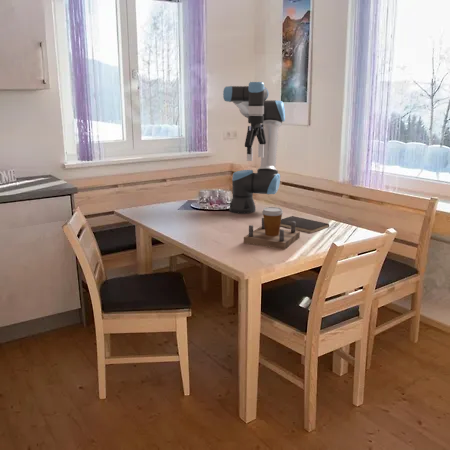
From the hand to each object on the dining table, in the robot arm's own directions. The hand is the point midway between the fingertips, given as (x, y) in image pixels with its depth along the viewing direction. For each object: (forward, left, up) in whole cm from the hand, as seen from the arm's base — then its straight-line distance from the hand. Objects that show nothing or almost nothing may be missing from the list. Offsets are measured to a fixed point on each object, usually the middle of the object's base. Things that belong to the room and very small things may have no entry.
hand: (255, 159), depth 245 cm
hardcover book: (-13, +21, -36) cm, 43 cm away
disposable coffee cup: (+18, +17, -32) cm, 40 cm away
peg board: (+18, +17, -35) cm, 43 cm away
